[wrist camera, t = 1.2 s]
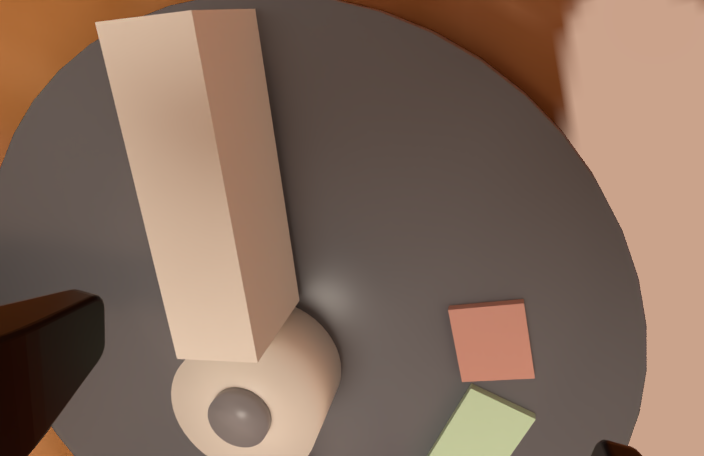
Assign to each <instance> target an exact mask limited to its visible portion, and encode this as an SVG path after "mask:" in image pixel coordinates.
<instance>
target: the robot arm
mask: <svg viewBox="0 0 704 456" xmlns="http://www.w3.org/2000/svg"><path fill="white" fill-rule="evenodd" d="M104 348H105V306H104V301H103V299H102V298H101V297H100V296H99V295H96V294H93V293H89V292H86V291H82V290H78V289H71V290H66V291H62V292H58V293H53V294H49V295H45V296H40V297H36V298H32V299H27V300H23V301H19V302H15V303H10V304H6V305H2V306H0V456H28V455H29V454H30V453H31V452H32V450H33V449H34V448H35V447H36V446H37V444H38V443H39V442H40V440H41V439H42V438H43V437H44V435H45V434H46V433H47V431H48V430H49V429H50V427H51V426H52V424H53V423H54V422H55V420H56V419H57V418H58V416H59V415H60V414H61V412H62V411H63V409H64V408H65V407H66V405H67V404H68V403H69V401H70V400H71V398H72V397H73V396H74V394H75V393H76V392H77V390H78V389H79V388H80V386H81V385H82V383H83V382H84V381H85V379H86V378H87V377H88V375H89V374H90V372H91V371H92V370H93V368H94V367H95V366H96V364H97V363H98V361H99V360H100V358H101V356H102V354H103V351H104ZM591 456H642V455H641V454H640V453H639V452H638V451H637V450H636V449H634V448H632V447H630V446H627V445H623V444H620V443H616V442H613V441H609V440H605V439H604V440H601V441H599V442H598V443H597V444H596V445H595V447H594V449H593V451H592V454H591Z"/></svg>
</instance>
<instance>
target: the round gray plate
mask: <svg viewBox="0 0 704 456" xmlns="http://www.w3.org/2000/svg"><path fill="white" fill-rule="evenodd" d="M218 9H255V11H256V18H257V24H258V31H259V37H260V44H261V50H262V57H263V64H264V70H265V77H266V83H267V90H268V96H269V103H270V110H271V116H272V123H273V129H274V136H275V142H276V149H277V156H278V162H279V169H280V175H281V182H282V188H283V195H284V202H285V208H286V215H287V221H288V228H289V234H290V241H291V247H292V254H293V261H294V267H295V274H296V280H297V287H298V293H299V300H300V301H299V302H298V303H297V305H296V306H295V307H296V308H298V309H300V310H302V311H304V312H305V313H307V314H309V315H310V316H311V317H313V318H314V319H315V320H316V321H317V322H318V323H319V324H321V325H322V327H323V328H324V329H325V330H326V331H327V332H328V334H329V335H330V337H331V338H332V340H333V342H334V344H335V346H336V348H337V351H338V354H339V357H340V362H341V379H340V383H339V386H338V389H337V391H336V394H335V396H334V398H333V401H332V403H331V405H330V408H329V410H328V413H327V415H326V417H325V420H324V422H323V425H322V427H321V429H320V432H319V434H318V436H317V439H316V441H315V444H314V446H313V448H312V450H311V452H310V453H309V455H308V456H591V454H592V451H593V449H594V447H595V445H596V444H597V443H598V442H599V441H601V440H604V439H605V440H609V441H613V442H616V443H620V444H623V445H627V446H628V444H629V441H630V438H631V435H632V432H633V429H634V426H635V424H636V421H637V418H638V415H639V411H640V405H641V400H642V394H643V388H644V382H645V375H646V320H645V314H644V308H643V302H642V296H641V291H640V284H639V279H638V276H637V273H636V270H635V267H634V264H633V261H632V258H631V255H630V252H629V249H628V246H627V243H626V240H625V237H624V234H623V231H622V229H621V227H620V225H619V223H618V222H617V220H616V217H615V216H614V214H613V212H612V210H611V208H610V206H609V204H608V202H607V200H606V198H605V196H604V194H603V192H602V190H601V189H600V187H599V185H598V183H597V181H596V179H595V178H594V176H593V174H592V172H591V171H590V169H589V168H588V166H587V165H586V164H585V162H584V161H583V159H582V158H581V157H580V155H579V154H578V153H577V151H576V150H575V148H574V147H573V146H572V144H571V143H570V141H569V140H568V139H567V137H566V136H565V135H564V133H563V132H562V130H561V129H560V128H559V127H558V126H557V125H556V124H555V123H554V122H553V121H552V120H551V119H550V118H549V117H548V116H547V115H546V114H545V113H544V112H543V111H542V110H541V109H540V108H539V107H538V106H537V104H536V103H535V102H534V101H533V100H532V99H531V98H530V97H529V96H528V95H527V94H526V93H525V92H524V91H523V90H521V89H520V88H519V87H517V86H516V85H515V84H514V83H512V82H511V81H510V80H508V79H507V78H506V77H505V76H503V75H502V74H501V73H499V72H498V71H497V70H496V69H494V68H493V67H492V66H491V65H489V64H488V63H487V62H485V61H484V60H483V59H482V58H480V57H478V56H476V55H475V54H473V53H471V52H469V51H468V50H466V49H464V48H462V47H461V46H459V45H457V44H456V43H454V42H452V41H450V40H449V39H447V38H445V37H443V36H442V35H440V34H438V33H436V32H435V31H432V30H430V29H427V28H425V27H423V26H420V25H418V24H415V23H413V22H410V21H408V20H405V19H403V18H400V17H398V16H395V15H393V14H390V13H388V12H385V11H382V10H378V9H374V8H370V7H366V6H362V5H358V4H354V3H349V2H345V1H341V0H195V1H190V2H185V3H180V4H176V5H171V6H168V7H165V8H163V9H160V10H158V11H155V12H152V13H150V14H147V15H145V16H148V15H156V14H164V13H172V12H180V11H188V10H218ZM71 289H78V290H82V291H86V292H89V293H93V294H96V295H99V296H100V297H101V298H102V299H103V301H104V306H105V348H104V351H103V354H102V356H101V358H100V360H99V361H98V363H97V364H96V366H95V367H94V368H93V370H92V371H91V372H90V374H89V375H88V377H87V378H86V379H85V381H84V382H83V383H82V385H81V386H80V388H79V389H78V390H77V392H76V393H75V394H74V396H73V397H72V398H71V400H70V401H69V403H68V404H67V405H66V407H65V408H64V409H63V411H62V412H61V414H60V415H59V416H58V418H57V419H56V420H55V422H54V423H53V424H52V428H53V429H54V431H55V432H56V434H57V435H58V436H59V438H60V439H61V440H62V441H63V442H64V444H65V445H66V446H67V447H68V449H69V450H70V451H71V452H72V453H73V455H74V456H207V455H205V454H204V453H203V452H201V451H200V450H199V449H198V448H197V447H196V446H195V445H194V444H193V443H192V442H191V441H190V440H189V438H188V437H187V436H186V434H185V433H184V432H183V430H182V428H181V427H180V425H179V423H178V421H177V419H176V416H175V413H174V410H173V406H172V401H171V388H172V382H173V379H174V376H175V374H176V372H177V370H178V368H179V367H180V365H181V364H182V363H183V362H184V361H185V359H177V357H176V353H175V349H174V344H173V340H172V336H171V332H170V328H169V324H168V320H167V316H166V312H165V307H164V303H163V299H162V295H161V291H160V287H159V283H158V279H157V275H156V271H155V266H154V262H153V258H152V254H151V250H150V246H149V242H148V238H147V234H146V230H145V225H144V221H143V217H142V213H141V209H140V205H139V201H138V197H137V193H136V188H135V184H134V180H133V176H132V172H131V168H130V164H129V160H128V156H127V152H126V147H125V143H124V139H123V135H122V131H121V127H120V123H119V119H118V115H117V110H116V106H115V102H114V98H113V94H112V90H111V86H110V82H109V78H108V74H107V69H106V65H105V61H104V57H103V53H102V49H101V45H100V41H99V39H98V40H96V41H95V42H93V43H91V44H90V45H89V46H87V47H86V48H85V49H84V50H83V51H81V52H80V53H79V54H78V55H77V56H76V57H74V58H73V59H72V60H71V61H70V62H69V63H67V64H66V65H65V66H64V67H63V68H61V69H60V70H59V71H58V72H57V73H56V75H55V76H54V77H53V78H52V79H51V81H50V82H49V83H48V84H47V85H46V86H45V88H44V89H43V90H42V91H41V92H40V94H39V95H38V96H37V97H36V98H35V100H34V101H33V102H32V104H31V106H30V107H29V109H28V111H27V112H26V114H25V116H24V118H23V119H22V121H21V123H20V124H19V126H18V128H17V129H16V131H15V133H14V135H13V137H12V140H11V142H10V145H9V147H8V150H7V153H6V155H5V158H4V160H3V163H2V165H1V168H0V306H2V305H6V304H10V303H15V302H19V301H23V300H27V299H32V298H36V297H40V296H45V295H49V294H53V293H58V292H62V291H66V290H71Z"/></svg>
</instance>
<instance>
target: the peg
mask: <svg viewBox="0 0 704 456" xmlns="http://www.w3.org/2000/svg"><path fill="white" fill-rule="evenodd" d="M95 24H96V28H97V33H98V37H99V41H100V45H101V49H102V53H103V57H104V61H105V65H106V69H107V74H108V78H109V82H110V86H111V90H112V94H113V98H114V102H115V106H116V110H117V115H118V119H119V123H120V127H121V131H122V135H123V139H124V143H125V147H126V152H127V156H128V160H129V164H130V168H131V172H132V176H133V180H134V184H135V188H136V193H137V197H138V201H139V205H140V209H141V213H142V217H143V221H144V225H145V230H146V234H147V238H148V242H149V246H150V250H151V254H152V258H153V262H154V266H155V271H156V275H157V279H158V283H159V287H160V291H161V295H162V299H163V303H164V307H165V312H166V316H167V320H168V324H169V328H170V332H171V336H172V340H173V344H174V349H175V353H176V357H177V359H185V361H184V362H183V363H182V364H181V365H180V367H179V368H178V370H177V372H176V374H175V376H174V379H173V382H172V388H171V401H172V406H173V410H174V413H175V416H176V419H177V421H178V423H179V425H180V427H181V428H182V430H183V432H184V433H185V434H186V436H187V437H188V438H189V440H190V441H191V442H192V443H193V444H194V445H195V446H196V447H197V448H198V449H199V450H200V451H201V452H203V453H204V454H205V455H207V456H308V455H309V453H310V452H311V450H312V448H313V446H314V444H315V441H316V439H317V436H318V434H319V432H320V429H321V427H322V425H323V422H324V420H325V417H326V415H327V413H328V410H329V408H330V405H331V403H332V401H333V398H334V396H335V394H336V391H337V389H338V386H339V383H340V379H341V362H340V357H339V354H338V351H337V348H336V346H335V344H334V342H333V340H332V338H331V337H330V335H329V334H328V332H327V331H326V330H325V329H324V328H323V327H322V325H321V324H319V323H318V322H317V321H316V320H315V319H314V318H313V317H311V316H310V315H309V314H307V313H305V312H304V311H302V310H300V309H298V308H296V307H295V306H296V305H297V303H298V302H299V301H300V300H299V293H298V287H297V280H296V274H295V267H294V261H293V254H292V247H291V241H290V234H289V228H288V221H287V215H286V208H285V202H284V195H283V188H282V182H281V175H280V169H279V162H278V156H277V149H276V142H275V136H274V129H273V123H272V116H271V110H270V103H269V96H268V90H267V83H266V77H265V70H264V64H263V57H262V50H261V44H260V37H259V31H258V24H257V18H256V11H255V9H218V10H188V11H180V12H172V13H164V14H156V15H148V16H140V17H132V18H125V19H117V20H109V21H101V22H95Z"/></svg>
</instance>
